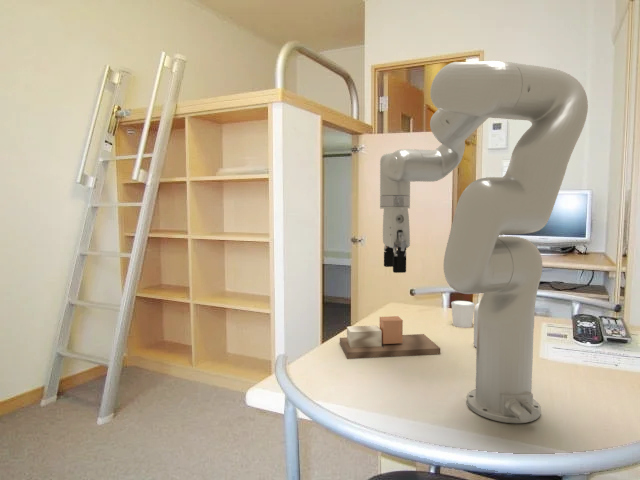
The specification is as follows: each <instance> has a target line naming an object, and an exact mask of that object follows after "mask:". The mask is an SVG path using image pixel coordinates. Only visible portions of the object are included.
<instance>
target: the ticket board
mask: <svg viewBox="0 0 640 480" xmlns="http://www.w3.org/2000/svg"><path fill="white" fill-rule="evenodd" d="M339 344H340V346H341V349H342V350H343V353H344V355H345V358H346V359H347V360H348V359H369V358H370V359H371V358H387V357H390V358H391V357H408V356H409V357H410V356H412V357H413V356H427V355H428V356H431V355H441V347H440V346H438V344H436V343H435V342H434V341H433V340H431V339H430V338H429V337H428V336H427V335H426V334H425V333H420V334H403V337H402V343H395V344H383V343H382V331H381V330H380V326H379V325H377V324H376V325H374V324H373V325H356V326H353V325H352V326H346V337H345V336H344V337H339Z"/></svg>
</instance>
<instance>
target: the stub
mask: <svg viewBox="0 0 640 480" xmlns="http://www.w3.org/2000/svg"><path fill="white" fill-rule="evenodd" d="M403 323H404V320H403V319H402V318H401V317H400V316H399V315H397V316H395V315H394V316H379V328H380V330H381V331H382V343H383V344H395V343H402V337H403V335H404V334H403V325H404V324H403Z"/></svg>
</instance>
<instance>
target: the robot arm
mask: <svg viewBox="0 0 640 480" xmlns="http://www.w3.org/2000/svg"><path fill="white" fill-rule="evenodd" d="M429 92H430V93H429V95H430V99H431V103H432V104H433V106H434V107H435V108H436V109H437V110H436V111H435V112H434V113H433V114H432V116H431V117H430V121H429V128H430V131H431V132H432V135H433V137H434V138H435V139H436V140H437V142H439V143H440V145H439V146H438V147H437V148H436V149H433V150H432V149H415V148H414V149H410V148H403V149H402V148H401V149H398V150H395V151H393V152H392V153H390V152H389V153H386V154H383V155H382V156H381V157H380V161H379V162H380V163H379V165H380V166H379V168H380V169H379V174H380V175H379V178H380V179H379V183H380V184H379V208H380V210H381V209H383V215H382V216H383V218H382V243H383V245H384V246H383V250H384V251H383V267H385V268H389V267H390V268H392V272H393V273H394V274H395V273H396V274H399V273H400V274H401V273H403V274H404V273H406V272H407V249H408V248H410V246H411V235H410V215H409V214H410V213H409V209H411V182H426V183H429V182H431V183H432V182H433V183H435V182H438V181H441V180H443V179H444V178H446V177H447V176H448V175H450V173H452V172H453V171H454V170H455V169H456V168H457V167H458V166H459V164H460V163H461V162H462V159H463V157H464V153H465V149H466V148H465V147H466V142H465V141H466V140H467V139H468V138H470V136H471V135H472V134H473V133H474V132H475V131H476V130H477V129H478V128H479V127H481V126H482V124H484V123H485V122H486V121H487V120H488V119H490V118H491V119H504V120H513V121H514V120H515V121H516V120H518V121H529V122H530V123H531V125H530V127H529V128H528V129H527V130H526V131H525V132H524V133H523V134H522V136H521V137H520V138H519V140H518V141H517V142H516V145H515V146H514V147H513V149H512V153H511V155H510V156H511V157H510V161H509V163H508V166H507V170H506V173H505V174H504V176H501V177H500V176H499V177H498V176H497V177H495V176H490V177H488V176H487V177H482V178H479V179H476V180H474V181H472V182H471V183H469V184H468V185H467V186H466V187H465V189H464V190H463V191H462V192H461V195H459V198H458V201H457V205H456V208H455V211H454V215H453V218H452V219H453V220H452V224H451V228H450V230H449V235H448V239H447V243H446V247H445V252H444V256H443V274H444V278H445V280H446V283H447V284H448V286H449V287H450V288H451V289H453V290H454V291H456V292H458V293H460V294H463V295H464V294H465V295H472V294H482V297H481V299H480V302H479V303H480V304H479V308H478V314H477V347H475V348H476V349H475V350H476V352H475V353H476V355H475V356H476V357H475V358H476V359H475V360H476V361H475V389H473V390H471V391H469V392H468V393H467V395H466V405H467V406H468V407H469V409H470V410H471V411H472V412H473V413H475V414H477V415H479V416H481V417H483V418H486V419H489V420H492V421H494V422H495V421H496V422H500V423H507V424H526V423H531V422H534V421H536V420H537V419H538V418H540V416H541V412H542V408H541V407H542V406H541V404H539V402H538V401H537V400H536V399H534V394H533V393H532V390H533V389H532V388H533V357H534V354H533V353H534V332H535V329H534V328H535V313H536V311H535V310H536V301H537V295H538V289H539V286H540V283H541V278H542V275H543V274H542V273H543V259H542V255H541V252H540V250H539V249H538V248H537V246H536V245H535V244H534V243H533V242H532V241H530V240H528V239H525V238H523V237H519V236H511V235H524V234H531V233H532V234H533V233H535V232H539V231H541V230H542V229H543V228H544V227H546V225H547V223H548V222H549V219H550V217H551V216H552V213H553V210H554V207H555V204H556V201H557V199H558V195H559V192H560V190H561V188H562V187H561V186H562V184H563V180H564V178H565V176H566V175H565V174H566V171H567V169H568V164H569V162H570V159H571V156H572V154H573V151H574V149H575V147H576V145H577V143H578V141H579V138H580V136H581V133H582V131H583V129H584V127H585V124H586V121H587V117H588V112H589V111H588V110H589V108H588V107H589V104H588V103H589V101H588V96H587V93H586V90H585V88H584V86H583V85H582V83H581V82H580V81H579V80H578V79H577V78H576V77H574V76H573V75H571V74H570V73H568V72H565V71H563V70H560V69H557V68H556V69H555V68H551V67H545V66H540V65H534V64H533V65H531V64H523V63H518V62H509V61H501V60H485V61H484V60H483V61H482V60H481V61H453V62H450V63H448V64H445V65H444V66H443V67H442V68H440V69H439V71H438V72H437V74H436V75H435V76H434V78H433V80H432V82H431V86H430V91H429ZM508 235H510V236H508Z"/></svg>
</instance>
